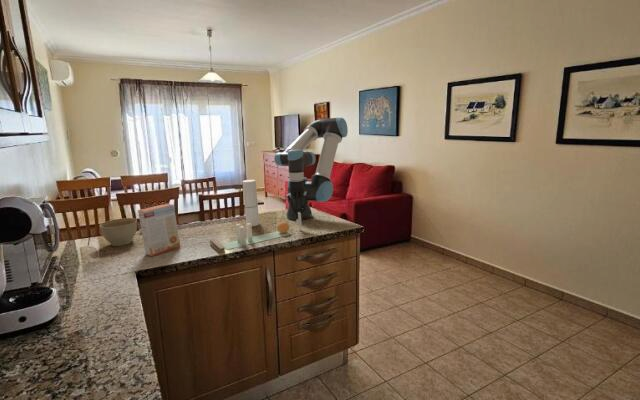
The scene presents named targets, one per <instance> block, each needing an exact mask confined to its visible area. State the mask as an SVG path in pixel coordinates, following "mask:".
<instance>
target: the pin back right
mask: <svg viewBox="0 0 640 400" xmlns="http://www.w3.org/2000/svg"><path fill="white" fill-rule="evenodd" d="M241 226H242V224H241V223H237V224H235V229H236V230H235V231H236V241H237V242H241V238H240V228H239V227H241Z"/></svg>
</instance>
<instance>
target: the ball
mask: <svg viewBox="0 0 640 400" xmlns="http://www.w3.org/2000/svg"><path fill="white" fill-rule="evenodd" d="M276 229H277V230H276V231H279V232H280V233H282V234H283V233H286V232H287V231H288V232H289V230H290V226H289V224H288V222H286V221H280V222H279V223H278V224H277V226H276Z"/></svg>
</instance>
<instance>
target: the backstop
mask: <svg viewBox="0 0 640 400" xmlns="http://www.w3.org/2000/svg"><path fill="white" fill-rule="evenodd" d="M209 243H210V245H211V247H212V248H214V250H215V251H216V252H218V253H219V252H220V253H223V254H226V250H225V249H226V248H224V247H223V246H222V245H221V244H222V243H220V242H219V241H218V240H216V239H215V238H210V239H209ZM220 253H219V254H220Z"/></svg>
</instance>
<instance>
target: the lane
mask: <svg viewBox="0 0 640 400" xmlns="http://www.w3.org/2000/svg"><path fill="white" fill-rule="evenodd" d="M291 235H293V233H292V232H290V231H289V230H288V231H287V232H286V233H283V234H282V233H280V232H279V231H278V230H275V231H273V232H269V233H264V234H260V235H254V236H252V237H253V241H248V238H246V244H245V245H241V242H237V240H232V241H230V242H223V243H220V244H221V245H222V246H223V247H224V248H225V249H226V250H231V249H235V248H240V247H244V246H248V245H253V244H257V243H261V242H266V241H270V240H273V239H278V238H283V237H287V236H291Z"/></svg>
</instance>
